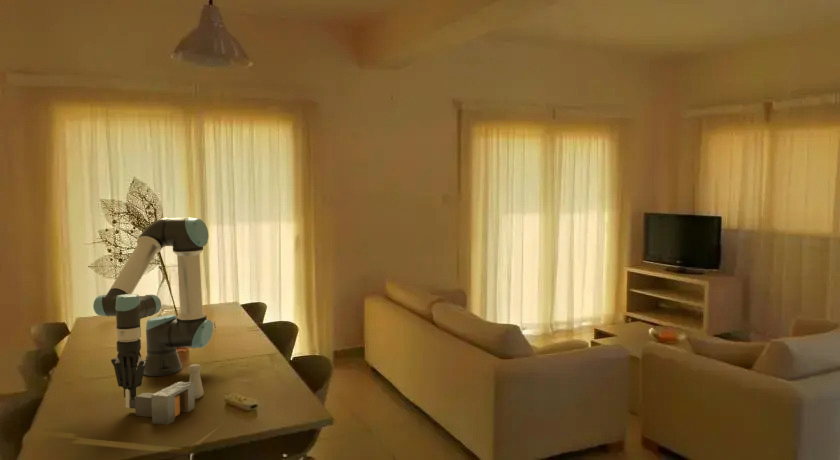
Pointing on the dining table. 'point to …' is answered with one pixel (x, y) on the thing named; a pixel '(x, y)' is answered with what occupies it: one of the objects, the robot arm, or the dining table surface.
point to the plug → (148, 404)
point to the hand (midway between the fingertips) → (130, 406)
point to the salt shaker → (196, 379)
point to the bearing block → (172, 402)
